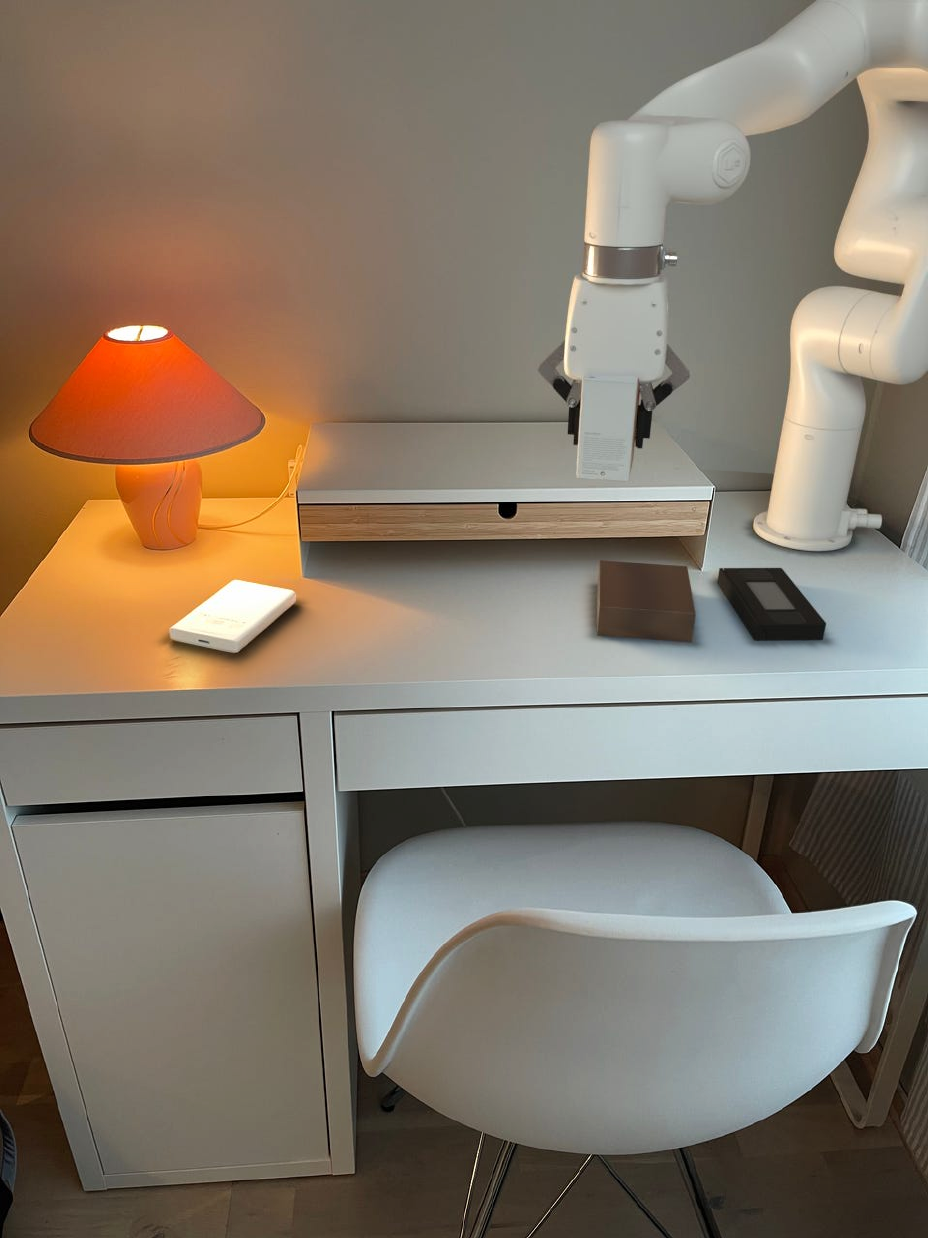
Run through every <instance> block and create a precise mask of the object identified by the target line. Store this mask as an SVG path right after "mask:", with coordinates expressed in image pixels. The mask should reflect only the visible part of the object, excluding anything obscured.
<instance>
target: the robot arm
mask: <svg viewBox="0 0 928 1238" xmlns="http://www.w3.org/2000/svg"><path fill="white" fill-rule="evenodd" d="M855 79H856V81H857V85H858V87H859V91H860V94H861V97H862V100H863V104H864V108H865V113H866V118H867V124H868V141H867V148H866V152H865V155H864V157H863V161H862V165H861V168H860V170H859V174H858V175H857V179H856V181H855V184H854V187H853V189H852V192H851V195H850V198H849V200H848V203H847V206H846V208H845V211H844V214H843V217H842V219H841V223H840V226H839V228H838V231H837V235H836V238H835V242H834V247H833V257H834V258H833V259H834V261H835V263H836V265H837V267H838V268H840V270H841V271H843V272H845V273H847V274H849V275H853V276H854V277H855V276H856V277H859V278H864V279H868V280H873V281H879V282H886V283H891V284H898V285H904V286H903V290H902V292H901V295H895V294H891V293H889V294H888V293H885V292H879V291H874V290H870V289H869V290H868V289H864V288H858V287H851V286H844V285H843V286H842V285H829V286H822V287H819V288H816V289H814V290H813V291H811V292H809V293H808V294H807V295H805V296H804V297H803V298H802V299H801V300H800V302H799V303H798V305H797V307H796V308H795V310H794V313H793V315H792V318H791V323H790V330H789V337H790V338H789V347H790V349H789V351H790V372H789V373H790V374H789V385H788V391H787V398H786V404H785V410H784V415H783V421H782V427H781V432H780V433H781V434H780V439H779V444H778V450H777V456H776V462H775V467H774V472H773V479H772V484H771V490H770V491H771V492H770V496H769V502H768V508H767V510H766V511H765V510H764V511H762V512H760V513H759V514H757V515H756V516H755V517H754V520H753V525H752V526H753V531H754V532H755V534H757V535H758V536H759V537H760V538H762V539H763V540H765V541H767V542H769V543H771V544H774V545H777V546H780V547H782V548H783V547H784V548H787V549H793V550H798V551H806V552H829V551H836V550H840V549H842V548H844V547H847V546H848V545H849V544H850V543H851V541H852V539H853V531H854V530H855V529H856V528H864V529H872V530H873V529H874V530H879V529H881V527H882V525H883V524H882V523H883V515H882V514H878V513H868V509H866V508H851V507H850V506H849V505H848V503H847V501H848V497H849V492H850V488H851V482H852V478H853V473H854V469H855V464H856V459H857V454H858V449H859V445H860V441H861V435H862V430H863V425H864V421H865V417H866V410H867V399H866V393H865V387H864V383H863V381H862V378H867V379H871V380H874V381H879V382H884V383H888V384H893V385H908V384H912V383H915V382H917V381H919V380H920V379H922V378H923V377H924V375H926V374H927V373H928V0H815V1H813V2H812V3H810V4H809V5H808V6H807V7H806V8H805V9H803V10H802V11H801V12H800V13H798V14H797V15H796V16H794V17H793V18H792V19H791V20H790V21H788V22H786V24H784V25H782V27H780V28H779V29H778V30H777V31H776V32H774V33H773V34H772V35H770V36H769V37H768V38H766V39H765V40H763V41H762V42H760V43H759V44H756V45H754V46H752V47H749V48H747V49H744V50H742V51H740V52H737V53H735V54H733V55H731V56H729V57H727V58H725V59H723V60H721V61H718V62H716V63H714V64H712V65H710V66H708V67H705V68H703V69H701V70H699V71H698V70H697V71H696V72H694V73H692V74H690V75H687V76H686V77H683V78H682V79H680V80H679V81H676V82H675V83H673V84H672V85H670V86H668V87H667V88H665V89H664V90H662V91H661V92H659V93H658V94H656V96H654V97H653V98H651V99H650V100H649V101H648V102H646V103H645V104H644V105H642V106H641V107H640V108H638V110H637V111H635V112H634V113H633V114H632V115H631V116H630V117H629V118H628V119H618V120H607V121H603V122H601V123H599V124H597V125H596V127H595V128H594V129H593V131H592V133H591V136H590V143H589V155H588V157H589V158H588V170H587V171H588V174H587V188H586V190H587V191H586V205H585V223H584V237H583V239H584V240H583V241H584V242H583V256H582V272H581V273H577V274H575V275H574V278H573V282H572V286H571V291H570V295H569V301H568V303H569V304H568V309H567V317H566V328H565V336H564V337H565V338H564V340H563V341H561V343H560V344H559V345H558V346H557V347H556V348H554V350H553V351H552V352H551V353H550V354H548V356H547V357H545V359H543V360H542V361H541V362H540V364H539V366H538V369H537V371H538V374H539V375H541V377H542V378H543V379H544V380H545V381H546V382H547V383H548V384H550V386H551V387H552V388H553V389H554V391H555V393H557V394H558V395H559V396H560V398H562V400H564V401H565V403H566V406H568V417H567V418H568V419H567V435H570V436H573V446H578V438H579V422H580V407H581V391H582V379H583V377H584V376H589V375H607V376H633V377H638V378H639V390H640V396H641V399H640V402H639V405H638V414H637V425H636V435H635V445H634V448H637V449H642V450H643V445H644V439H648V440H649V439H651V432H652V431H651V430H652V429H651V428H652V419H653V411H654V410H655V409H656V408H657V406H659V405H660V404H661V403H662V402H664V401H665V400H666V399H667V398H668V397H669V396H671V395H672V393H673V392H674V391H676V390H677V389H678V388H679V387H681V386H683V384H684V383H686V382H687V381H688V380H689V379H690V378H691V374H690V370H689V369H688V368H687V366H686V365H685V363H684V362H683V361H682V360H681V359H680V357H679V356H678V355H677V353H675V352H674V350H673V349H672V348H671V346H669V344H668V332H669V287H668V278H667V277H666V276H663V275H661V274H662V271H665V268H666V269H668V268H669V267H677V263H678V251H670V250H669V249H667V248H666V247H664V239H665V228H666V217H667V208H668V207H667V206H668V205H669V203H672V202H673V203H681V204H688V205H689V204H690V205H698V206H706V205H708V206H709V205H714V204H718V203H720V202H722V201H724V200H726V199H728V198H729V197H732V195H733V194H735V193H737V191H738V190H739V189H740V187H741V186H742V184H743V183H744V182H745V180H746V178H747V175H748V173H749V170H750V167H751V157H752V156H751V148H750V145H749V141H748V139H747V136H753V135H759V134H760V135H761V134H765V133H769V132H773V131H776V130H780V129H784V128H788V127H790V126H793V125H796V124H799V123H801V122H803V121H805V120H807V119H808V118H810V117H811V116H812V115H813V114H815V113H816V112H817V111H818V110H819V109H820V108H821V107H823V106H824V105H825V104H826V103H827V102H828V101H830V100H831V99H833V97H834V96H836V95H837V94H838V93H839V92H841V90H843V89H844V88H845V87H847V85H849V84H850V83H851V82H853V81H854V80H855ZM562 362H563V370H564V374H565V375H566V376H567V377H568V378H570V379H573V381H572V383H570V382H569V381H568V380H567V379H566V378H565V377H564V376H563V375H561V374H560V373H559V371H558V370H557V367H558V366H559V365H560V364H561V363H562ZM666 366H667V368H668V369H669V370H670V371H671V374H670V375H669V376H668V377H667V378H666V379H664V380H662V381H661V382H659V384H657V386H655V387H653V383H656V382H658V381H660V380H661V379H662V378H663V376H664V374H665V373H664V372H665V368H666Z"/></svg>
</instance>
